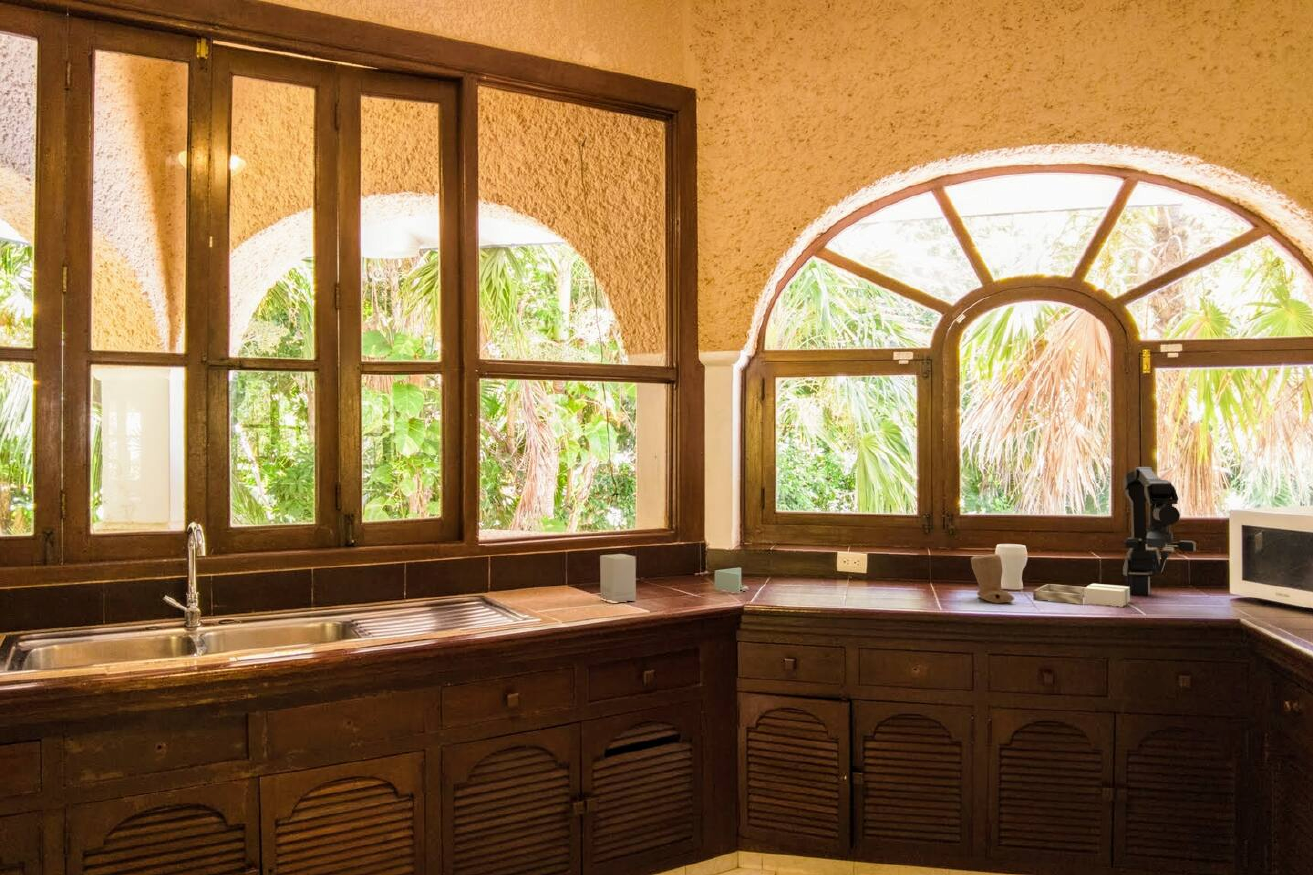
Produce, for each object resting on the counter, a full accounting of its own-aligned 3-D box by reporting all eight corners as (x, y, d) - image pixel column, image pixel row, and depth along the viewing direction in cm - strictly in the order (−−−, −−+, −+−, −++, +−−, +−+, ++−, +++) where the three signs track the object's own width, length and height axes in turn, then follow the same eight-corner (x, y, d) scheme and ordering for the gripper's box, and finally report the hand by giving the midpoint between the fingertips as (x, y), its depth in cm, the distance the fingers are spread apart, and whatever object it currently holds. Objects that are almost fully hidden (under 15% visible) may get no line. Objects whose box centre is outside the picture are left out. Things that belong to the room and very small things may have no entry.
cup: (990, 585, 319) (989, 543, 319) (1018, 585, 320) (1018, 543, 320) (1004, 590, 309) (1003, 547, 309) (1033, 590, 310) (1033, 546, 310)
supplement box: (636, 601, 292) (636, 556, 292) (612, 604, 287) (612, 558, 287) (623, 597, 300) (623, 553, 300) (599, 600, 295) (599, 555, 295)
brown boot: (969, 595, 300) (968, 551, 300) (1006, 596, 298) (1006, 551, 298) (975, 603, 285) (975, 556, 285) (1014, 604, 283) (1014, 557, 283)
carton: (1130, 602, 286) (1129, 586, 286) (1122, 607, 278) (1122, 591, 278) (1092, 598, 293) (1092, 583, 293) (1084, 603, 285) (1083, 587, 285)
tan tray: (1094, 597, 295) (1094, 588, 295) (1082, 604, 282) (1082, 594, 282) (1047, 592, 305) (1047, 583, 305) (1033, 599, 292) (1033, 590, 292)
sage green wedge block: (738, 596, 304) (738, 574, 304) (714, 591, 314) (714, 570, 314) (763, 592, 312) (763, 571, 312) (739, 588, 321) (739, 567, 321)
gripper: (1120, 522, 276) (1121, 572, 276) (1190, 525, 264) (1190, 578, 264) (1128, 519, 285) (1128, 568, 284) (1195, 522, 273) (1196, 573, 273)
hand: (1160, 572), depth 276 cm, fingers closed
